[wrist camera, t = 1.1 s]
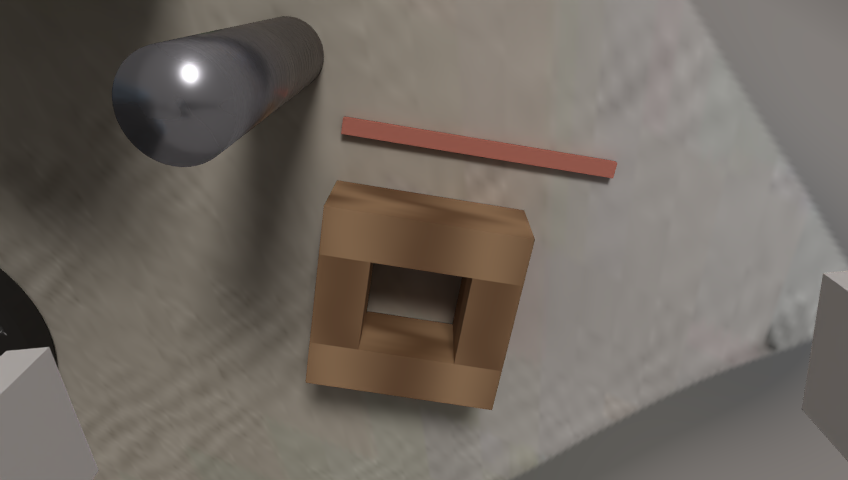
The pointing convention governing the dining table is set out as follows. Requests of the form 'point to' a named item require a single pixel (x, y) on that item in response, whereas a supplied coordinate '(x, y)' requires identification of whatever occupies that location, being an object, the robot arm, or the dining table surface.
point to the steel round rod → (212, 87)
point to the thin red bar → (478, 147)
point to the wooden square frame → (407, 337)
